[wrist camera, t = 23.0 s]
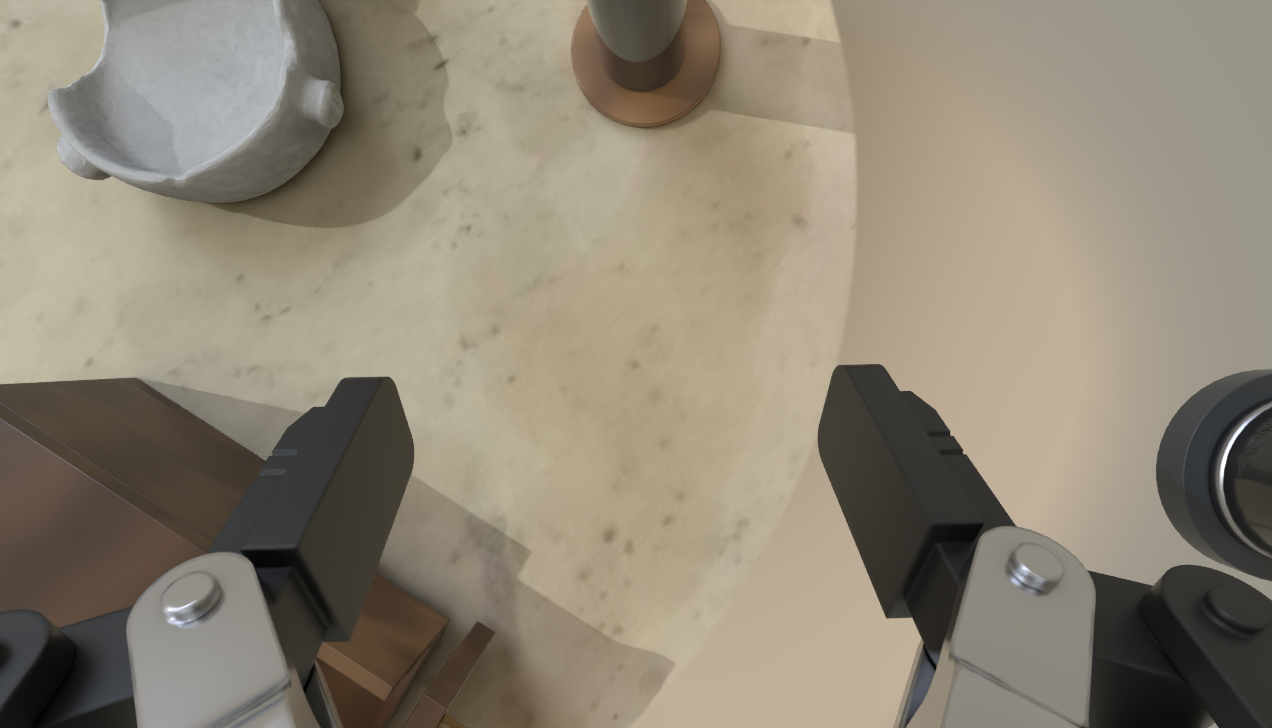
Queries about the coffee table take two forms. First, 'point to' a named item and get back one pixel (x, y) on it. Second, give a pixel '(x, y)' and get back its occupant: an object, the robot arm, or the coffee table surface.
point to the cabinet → (106, 493)
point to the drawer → (396, 661)
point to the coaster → (658, 102)
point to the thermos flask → (640, 40)
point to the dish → (203, 97)
